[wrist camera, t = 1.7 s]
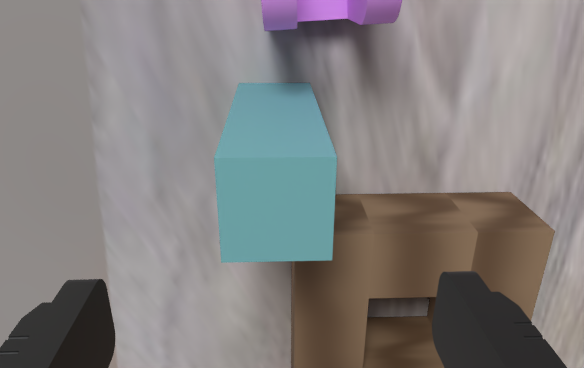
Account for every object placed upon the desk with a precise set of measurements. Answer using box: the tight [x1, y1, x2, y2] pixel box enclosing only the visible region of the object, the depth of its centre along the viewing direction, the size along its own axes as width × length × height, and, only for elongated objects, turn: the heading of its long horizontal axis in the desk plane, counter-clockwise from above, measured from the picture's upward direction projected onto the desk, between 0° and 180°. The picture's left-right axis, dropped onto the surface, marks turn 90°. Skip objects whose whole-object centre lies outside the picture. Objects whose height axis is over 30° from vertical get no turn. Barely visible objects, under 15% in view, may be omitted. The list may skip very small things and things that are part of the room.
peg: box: [214, 83, 337, 262], centre depth 21 cm, size 4×4×12 cm
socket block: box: [291, 192, 555, 368], centre depth 30 cm, size 14×14×5 cm
